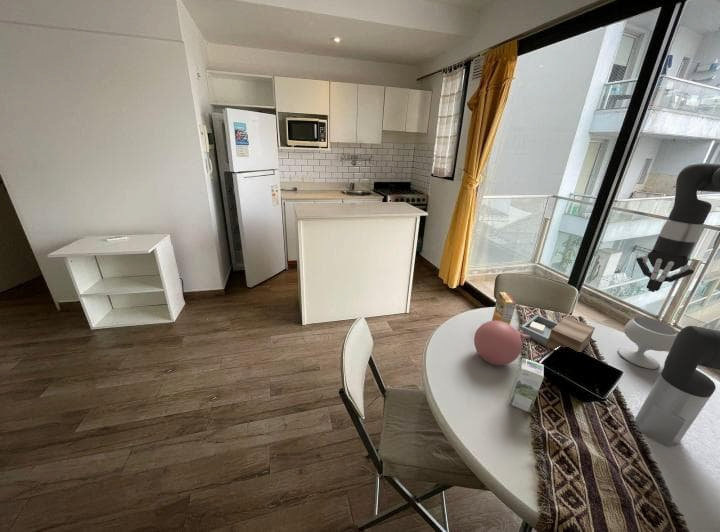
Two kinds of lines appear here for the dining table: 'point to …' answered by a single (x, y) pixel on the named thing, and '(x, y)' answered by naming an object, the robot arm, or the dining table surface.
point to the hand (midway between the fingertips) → (651, 290)
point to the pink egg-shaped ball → (499, 342)
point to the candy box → (504, 308)
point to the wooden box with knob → (570, 335)
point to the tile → (537, 327)
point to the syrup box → (526, 384)
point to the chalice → (647, 340)
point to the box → (535, 335)
